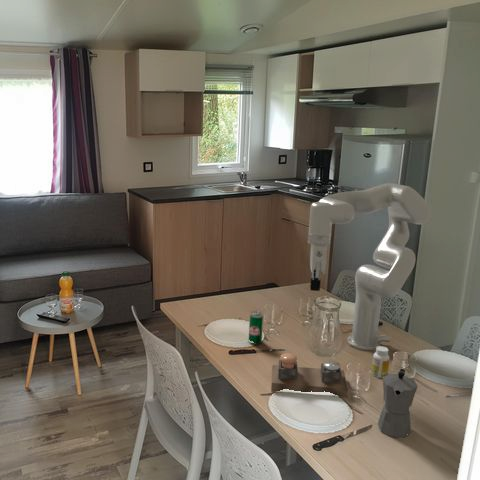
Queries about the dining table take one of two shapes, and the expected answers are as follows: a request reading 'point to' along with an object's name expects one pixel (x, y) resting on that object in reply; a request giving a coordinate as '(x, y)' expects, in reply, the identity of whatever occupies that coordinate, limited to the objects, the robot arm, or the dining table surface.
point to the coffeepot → (397, 404)
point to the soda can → (256, 327)
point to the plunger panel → (308, 380)
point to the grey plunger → (331, 366)
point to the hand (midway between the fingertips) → (314, 289)
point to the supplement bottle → (380, 362)
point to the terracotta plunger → (288, 360)
